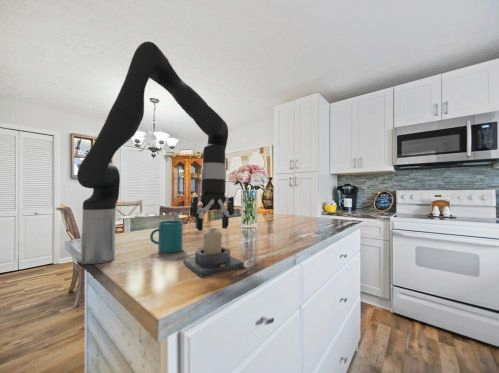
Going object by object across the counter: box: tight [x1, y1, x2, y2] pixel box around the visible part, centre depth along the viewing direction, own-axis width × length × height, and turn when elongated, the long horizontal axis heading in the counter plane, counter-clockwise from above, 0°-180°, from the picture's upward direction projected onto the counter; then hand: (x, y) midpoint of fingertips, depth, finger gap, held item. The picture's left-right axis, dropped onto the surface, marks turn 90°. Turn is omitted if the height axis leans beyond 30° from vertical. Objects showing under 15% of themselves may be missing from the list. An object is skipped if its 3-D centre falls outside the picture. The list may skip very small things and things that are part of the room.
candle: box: [203, 227, 223, 254], centre depth 69 cm, size 6×6×10 cm
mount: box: [182, 246, 245, 278], centre depth 69 cm, size 14×14×4 cm
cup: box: [149, 220, 184, 254], centre depth 86 cm, size 9×12×11 cm
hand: (212, 229), depth 69 cm, fingers open, 8 cm apart
